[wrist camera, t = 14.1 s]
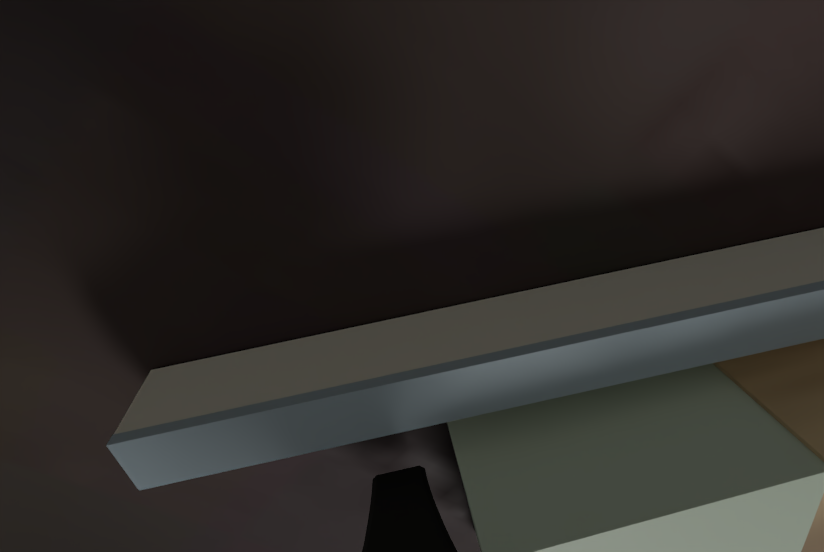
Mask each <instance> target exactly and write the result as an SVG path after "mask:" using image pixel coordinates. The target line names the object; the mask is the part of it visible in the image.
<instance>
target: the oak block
mask: <svg viewBox="0 0 824 552" xmlns="http://www.w3.org/2000/svg"><path fill="white" fill-rule="evenodd" d="M713 364H714V365H715V366H716V367H717V368H718V369H719V370H721V371H722V372H723V373H724V374H725V375H726V376H727V377H728V378H730V379H731V380H732V381H733V382H734V383H735V384H736V385H737V386H739V387H740V388H741V389H742V390H743V391H744V392H745V393H746V394H748V395H749V396H750V397H751V398H752V399H753V400H754V401H755V402H757V403H758V404H759V405H760V406H761V407H762V408H763V409H765V410H766V411H767V412H768V413H769V414H770V415H771V416H772V417H774V418H775V419H776V420H777V421H778V422H779V423H780V424H781V425H783V426H784V427H785V428H786V429H787V430H788V431H789V432H790V433H792V434H793V435H794V436H795V437H796V438H797V439H798V440H799V441H801V442H802V443H803V444H804V445H805V446H806V447H807V448H808V449H810V450H811V451H812V452H813V453H814V454H815V455H816V456H817V457H819V458H820V459H821V460H822V461H823V462H824V339H820V340H815V341H811V342H806V343H802V344H797V345H793V346H788V347H784V348H779V349H775V350H770V351H766V352H761V353H757V354H752V355H748V356H743V357H739V358H734V359H730V360H725V361H721V362H716V363H713ZM801 552H824V494H823V496H822V499H821V502H820V504H819V507H818V509H817V512H816V515H815V517H814V520H813V522H812V525H811V528H810V530H809V533H808V535H807V538H806V541H805V543H804V546H803V548H802V551H801Z"/></svg>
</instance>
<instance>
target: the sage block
mask: <svg viewBox="0 0 824 552" xmlns="http://www.w3.org/2000/svg"><path fill="white" fill-rule="evenodd" d="M447 425H448V428H449V432H450V436H451V440H452V444H453V448H454V451H455V455H456V459H457V463H458V467H459V471H460V474H461V478H462V482H463V486H464V490H465V494H466V497H467V501H468V505H469V509H470V513H471V517H472V520H473V524H474V528H475V532H476V536H477V539H478V543H479V547H480V551H481V552H801V551H802V548H803V546H804V543H805V541H806V538H807V535H808V533H809V530H810V528H811V525H812V522H813V520H814V517H815V515H816V512H817V509H818V507H819V504H820V502H821V499H822V496H823V494H824V462H823V461H822V460H821V459H820V458H819V457H817V456H816V455H815V454H814V453H813V452H812V451H811V450H810V449H808V448H807V447H806V446H805V445H804V444H803V443H802V442H801V441H799V440H798V439H797V438H796V437H795V436H794V435H793V434H792V433H790V432H789V431H788V430H787V429H786V428H785V427H784V426H783V425H781V424H780V423H779V422H778V421H777V420H776V419H775V418H774V417H772V416H771V415H770V414H769V413H768V412H767V411H766V410H765V409H763V408H762V407H761V406H760V405H759V404H758V403H757V402H755V401H754V400H753V399H752V398H751V397H750V396H749V395H748V394H746V393H745V392H744V391H743V390H742V389H741V388H740V387H739V386H737V385H736V384H735V383H734V382H733V381H732V380H731V379H730V378H728V377H727V376H726V375H725V374H724V373H723V372H722V371H721V370H719V369H718V368H717V367H716V366H715V365H714V364H713V363H712V364H707V365H703V366H698V367H693V368H689V369H684V370H680V371H675V372H671V373H666V374H662V375H657V376H653V377H648V378H644V379H639V380H635V381H630V382H626V383H621V384H617V385H612V386H608V387H603V388H599V389H594V390H590V391H585V392H581V393H576V394H572V395H567V396H563V397H558V398H554V399H549V400H545V401H540V402H536V403H531V404H527V405H522V406H518V407H513V408H509V409H504V410H500V411H495V412H491V413H486V414H482V415H477V416H473V417H468V418H464V419H459V420H455V421H450V422H447Z"/></svg>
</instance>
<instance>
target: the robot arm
mask: <svg viewBox="0 0 824 552" xmlns="http://www.w3.org/2000/svg"><path fill="white" fill-rule="evenodd" d="M362 552H457V550H456V548H455V546H454V544H453V542H452V540H451V538H450V536H449V534H448V532H447V530H446V528H445V525H444V523H443V521H442V519H441V516H440V514H439V511H438V509H437V507H436V504H435V501H434V499H433V496H432V493H431V490H430V487H429V484H428V480H427V476H426V472H425V468H423V467H421V466H416V467H412V468H407V469H403V470H398V471H394V472H390V473H385V474H381V475H377V476H376V477H375V478H374V479H373V484H372V497H371V505H370V512H369V519H368V525H367V530H366V536H365V541H364V546H363V551H362Z"/></svg>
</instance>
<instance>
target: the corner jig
mask: <svg viewBox="0 0 824 552" xmlns="http://www.w3.org/2000/svg"><path fill="white" fill-rule="evenodd" d="M820 339H824V228H819V229H814V230H809V231H805V232H800V233H795V234H791V235H786V236H781V237H776V238H772V239H767V240H762V241H758V242H753V243H748V244H743V245H739V246H734V247H729V248H725V249H720V250H715V251H710V252H706V253H701V254H696V255H691V256H687V257H682V258H677V259H673V260H668V261H663V262H658V263H654V264H649V265H644V266H640V267H635V268H630V269H625V270H621V271H616V272H611V273H606V274H602V275H597V276H592V277H588V278H583V279H578V280H573V281H569V282H564V283H559V284H555V285H550V286H545V287H540V288H536V289H531V290H526V291H522V292H517V293H512V294H507V295H503V296H498V297H493V298H488V299H484V300H479V301H474V302H470V303H465V304H460V305H455V306H451V307H446V308H441V309H437V310H432V311H427V312H422V313H418V314H413V315H408V316H404V317H399V318H394V319H389V320H385V321H380V322H375V323H370V324H366V325H361V326H356V327H352V328H347V329H342V330H337V331H333V332H328V333H323V334H319V335H314V336H309V337H304V338H300V339H295V340H290V341H285V342H281V343H276V344H271V345H267V346H262V347H257V348H252V349H248V350H243V351H238V352H234V353H229V354H224V355H219V356H215V357H210V358H205V359H201V360H196V361H191V362H186V363H182V364H177V365H172V366H167V367H163V368H158V369H153V370H151V371H150V373H149V374H148V376H147V378H146V379H145V381H144V383H143V385H142V386H141V388H140V390H139V392H138V393H137V395H136V397H135V398H134V400H133V402H132V404H131V405H130V407H129V409H128V411H127V412H126V414H125V416H124V417H123V419H122V421H121V423H120V424H119V426H118V428H117V430H116V431H115V433H114V435H112V437H111V438H110V440H109V442H108V443H107V445H106V446H107V447H108V449H109V450H110V451H111V453H112V454H113V455H114V457H115V458H116V460H117V461H118V462H119V464H120V465H121V466H122V468H123V469H124V471H125V472H126V473H127V475H128V476H129V477H130V479H131V480H132V482H133V483H134V484H135V486H136V487H137V488H138V490H144V489H148V488H153V487H157V486H162V485H166V484H171V483H175V482H180V481H184V480H189V479H193V478H198V477H202V476H207V475H211V474H216V473H220V472H225V471H229V470H234V469H238V468H243V467H247V466H252V465H256V464H261V463H265V462H270V461H274V460H279V459H283V458H288V457H292V456H297V455H301V454H306V453H310V452H315V451H319V450H324V449H328V448H333V447H337V446H342V445H347V444H351V443H356V442H360V441H365V440H369V439H374V438H378V437H383V436H387V435H392V434H396V433H401V432H405V431H410V430H414V429H419V428H423V427H428V426H432V425H437V424H441V423H446V422H450V421H455V420H459V419H464V418H468V417H473V416H477V415H482V414H486V413H491V412H495V411H500V410H504V409H509V408H513V407H518V406H522V405H527V404H531V403H536V402H540V401H545V400H549V399H554V398H558V397H563V396H567V395H572V394H576V393H581V392H585V391H590V390H594V389H599V388H603V387H608V386H612V385H617V384H621V383H626V382H630V381H635V380H639V379H644V378H648V377H653V376H657V375H662V374H666V373H671V372H675V371H680V370H684V369H689V368H693V367H698V366H703V365H707V364H712V363H716V362H721V361H725V360H730V359H734V358H739V357H743V356H748V355H752V354H757V353H761V352H766V351H770V350H775V349H779V348H784V347H788V346H793V345H797V344H802V343H806V342H811V341H815V340H820Z"/></svg>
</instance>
